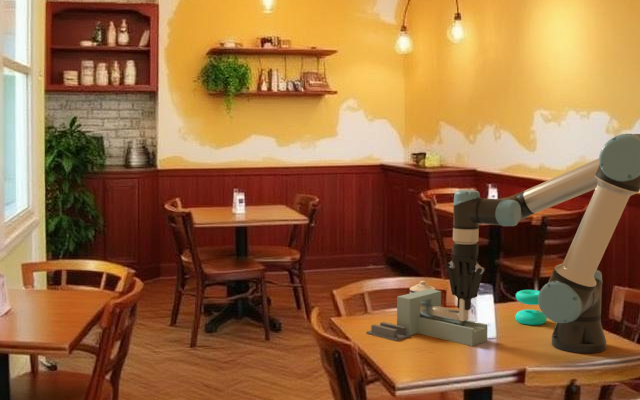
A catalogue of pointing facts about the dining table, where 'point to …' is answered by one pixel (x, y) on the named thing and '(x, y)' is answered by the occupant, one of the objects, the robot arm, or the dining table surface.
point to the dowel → (440, 314)
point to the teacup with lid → (421, 287)
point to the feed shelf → (454, 331)
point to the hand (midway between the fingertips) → (463, 319)
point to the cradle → (389, 331)
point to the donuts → (529, 315)
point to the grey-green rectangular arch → (414, 308)
